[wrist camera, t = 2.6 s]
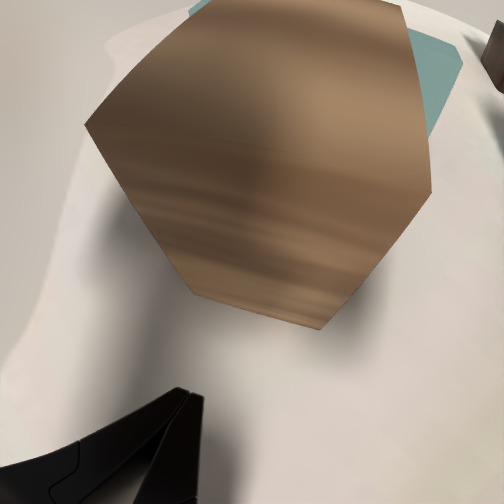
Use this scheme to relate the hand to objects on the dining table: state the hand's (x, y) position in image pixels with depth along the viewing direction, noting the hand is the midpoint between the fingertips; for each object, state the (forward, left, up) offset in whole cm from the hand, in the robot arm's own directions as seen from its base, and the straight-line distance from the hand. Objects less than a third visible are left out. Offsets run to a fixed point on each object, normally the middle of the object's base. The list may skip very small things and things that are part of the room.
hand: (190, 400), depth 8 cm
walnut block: (+8, +8, -10) cm, 15 cm away
